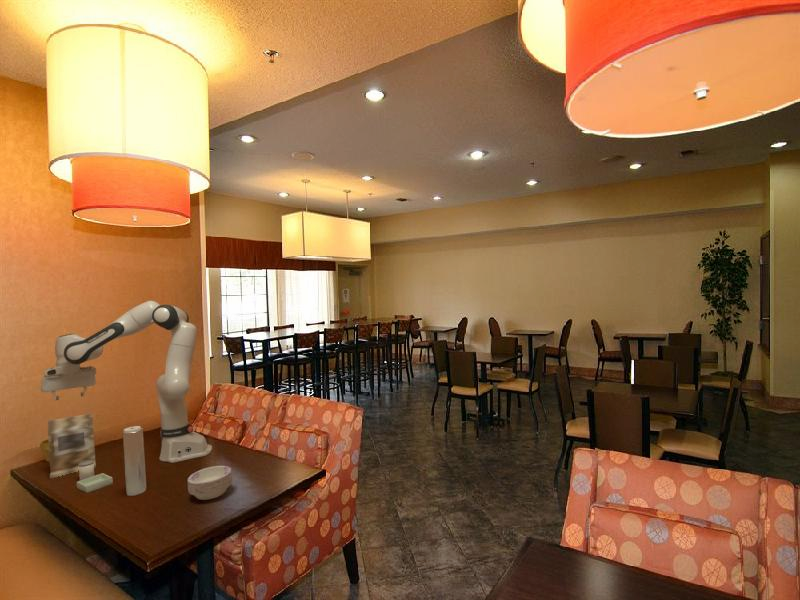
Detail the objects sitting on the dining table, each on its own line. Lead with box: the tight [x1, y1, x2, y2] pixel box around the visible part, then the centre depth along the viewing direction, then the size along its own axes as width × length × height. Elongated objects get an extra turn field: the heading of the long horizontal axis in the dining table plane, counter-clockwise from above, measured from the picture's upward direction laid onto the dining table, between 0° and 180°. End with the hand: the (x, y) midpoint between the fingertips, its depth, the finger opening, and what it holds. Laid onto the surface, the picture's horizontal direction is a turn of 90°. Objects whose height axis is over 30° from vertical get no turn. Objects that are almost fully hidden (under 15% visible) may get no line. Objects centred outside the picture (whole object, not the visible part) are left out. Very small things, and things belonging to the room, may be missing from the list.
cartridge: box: [78, 460, 95, 481], centre depth 176 cm, size 5×5×7 cm
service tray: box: [76, 472, 114, 494], centre depth 169 cm, size 9×9×2 cm
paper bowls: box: [187, 465, 233, 501], centre depth 156 cm, size 15×15×8 cm
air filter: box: [122, 425, 147, 497], centre depth 161 cm, size 6×6×25 cm
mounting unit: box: [47, 413, 97, 479], centre depth 187 cm, size 16×10×23 cm, turn 127°
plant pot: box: [39, 439, 50, 462], centre depth 201 cm, size 10×10×10 cm
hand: (69, 398), depth 195 cm, fingers open, 8 cm apart
